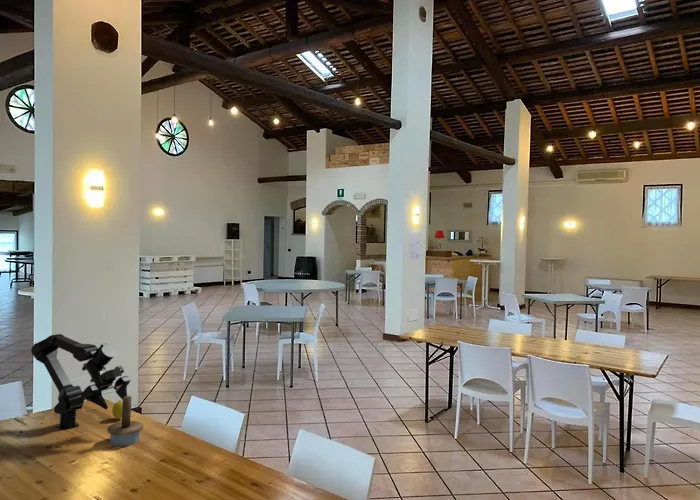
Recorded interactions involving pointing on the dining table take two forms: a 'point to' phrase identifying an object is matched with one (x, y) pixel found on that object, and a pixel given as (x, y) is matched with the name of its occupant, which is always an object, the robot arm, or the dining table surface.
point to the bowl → (124, 439)
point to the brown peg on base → (125, 421)
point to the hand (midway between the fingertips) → (117, 405)
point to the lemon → (117, 409)
